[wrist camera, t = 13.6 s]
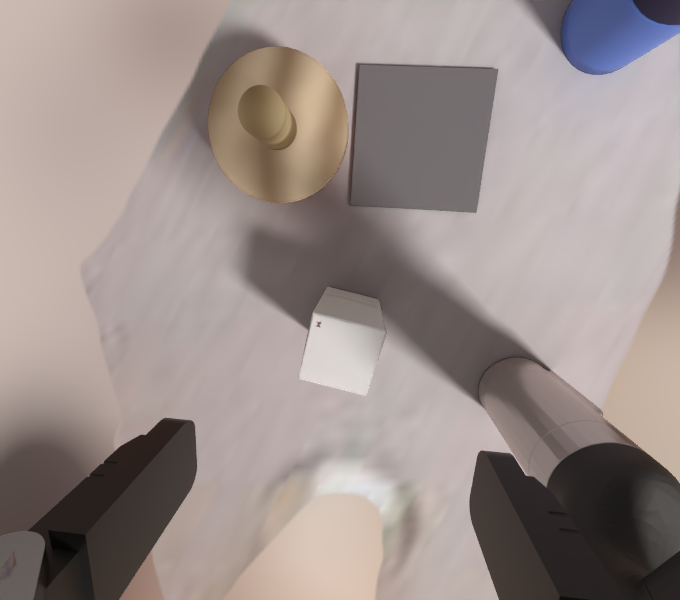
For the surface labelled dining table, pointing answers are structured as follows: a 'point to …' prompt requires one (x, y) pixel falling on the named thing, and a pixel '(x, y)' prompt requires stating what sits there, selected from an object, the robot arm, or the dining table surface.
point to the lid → (278, 124)
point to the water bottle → (616, 31)
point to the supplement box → (343, 341)
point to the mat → (421, 136)
